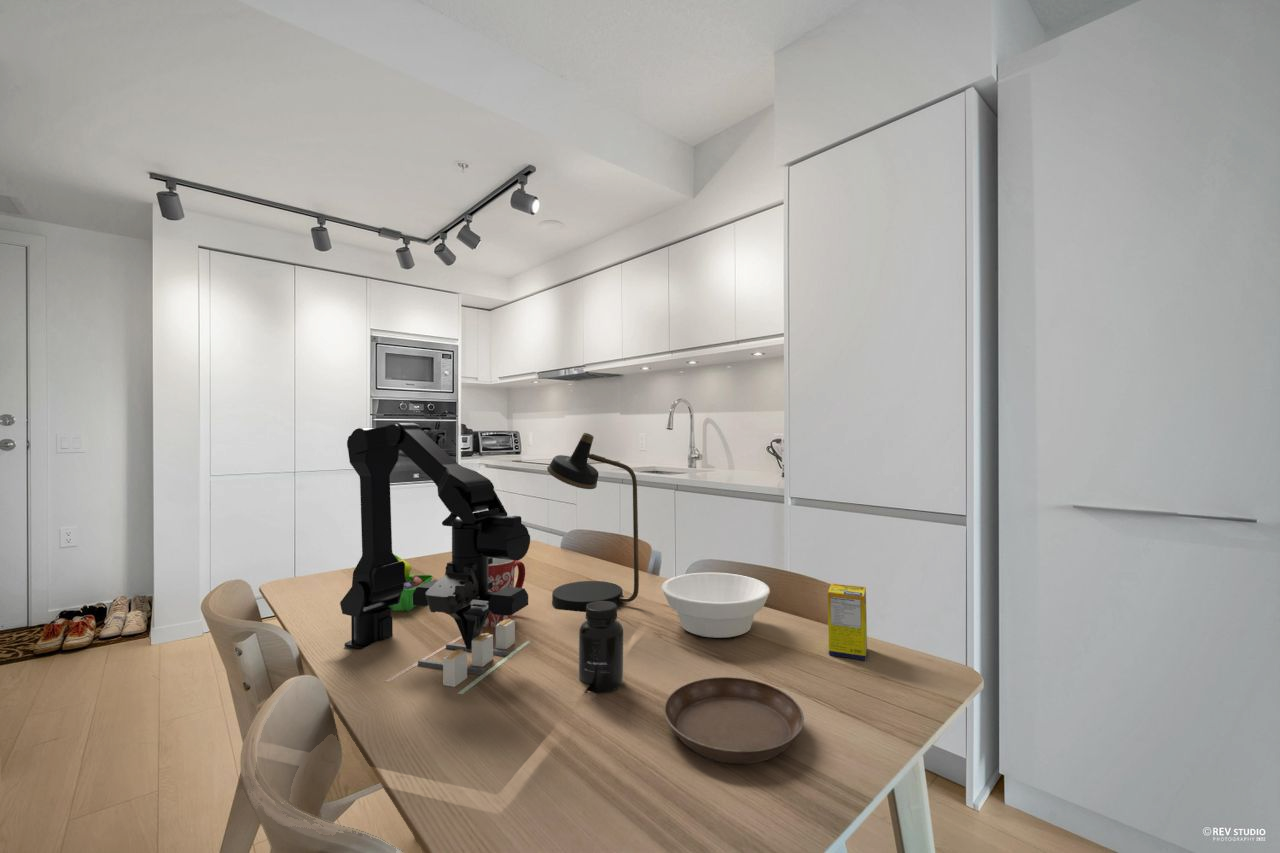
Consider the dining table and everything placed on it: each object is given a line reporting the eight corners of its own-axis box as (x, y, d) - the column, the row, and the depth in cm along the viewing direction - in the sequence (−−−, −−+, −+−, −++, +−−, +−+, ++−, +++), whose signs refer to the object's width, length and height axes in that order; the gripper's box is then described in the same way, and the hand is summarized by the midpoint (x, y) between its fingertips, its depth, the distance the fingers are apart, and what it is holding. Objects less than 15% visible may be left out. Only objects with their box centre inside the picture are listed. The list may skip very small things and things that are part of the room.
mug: (489, 639, 100) (488, 567, 100) (460, 628, 105) (459, 560, 106) (539, 619, 110) (538, 554, 110) (510, 611, 116) (510, 548, 116)
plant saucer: (707, 792, 57) (707, 764, 57) (642, 713, 74) (642, 691, 74) (835, 753, 64) (835, 727, 64) (750, 688, 81) (750, 667, 81)
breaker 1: (443, 685, 79) (443, 656, 79) (455, 676, 82) (455, 648, 82) (454, 686, 79) (454, 658, 79) (467, 677, 82) (466, 650, 82)
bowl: (646, 640, 99) (645, 596, 99) (680, 605, 118) (680, 568, 119) (760, 657, 91) (760, 609, 91) (777, 617, 111) (777, 577, 111)
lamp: (568, 587, 132) (567, 432, 133) (651, 596, 125) (649, 432, 125) (533, 607, 117) (532, 433, 118) (624, 619, 110) (623, 432, 110)
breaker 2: (495, 648, 93) (495, 624, 93) (505, 641, 96) (504, 618, 96) (505, 649, 92) (505, 625, 92) (514, 642, 95) (514, 619, 95)
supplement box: (867, 648, 94) (866, 586, 94) (866, 661, 89) (865, 595, 89) (831, 642, 97) (830, 582, 97) (828, 655, 91) (827, 591, 91)
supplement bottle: (588, 698, 77) (588, 615, 77) (572, 679, 83) (571, 602, 83) (631, 687, 80) (630, 608, 81) (612, 669, 87) (611, 595, 87)
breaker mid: (471, 665, 86) (471, 639, 86) (482, 657, 89) (482, 632, 89) (482, 666, 85) (482, 640, 85) (493, 659, 88) (492, 633, 88)
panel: (379, 692, 80) (378, 680, 80) (468, 637, 101) (468, 627, 101) (458, 705, 76) (458, 693, 76) (534, 645, 97) (534, 635, 97)
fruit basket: (413, 612, 115) (413, 560, 115) (372, 612, 115) (372, 560, 115) (434, 596, 127) (434, 548, 127) (397, 596, 127) (397, 549, 127)
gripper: (387, 561, 83) (387, 662, 83) (491, 570, 77) (491, 678, 77) (435, 546, 94) (435, 635, 94) (529, 553, 88) (530, 648, 88)
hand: (470, 648), depth 88 cm, fingers closed
